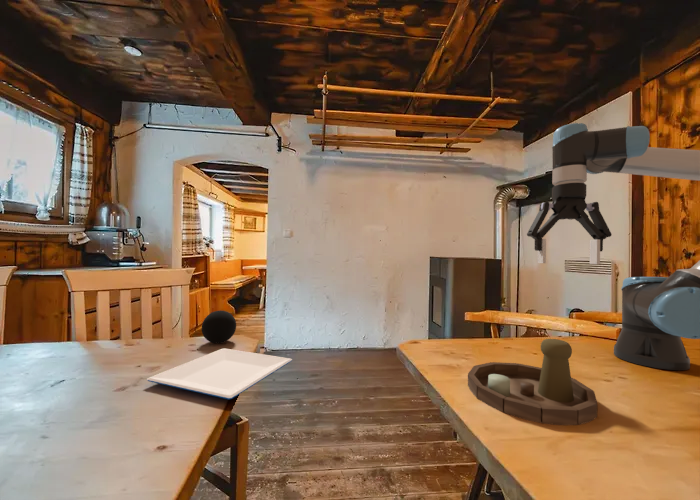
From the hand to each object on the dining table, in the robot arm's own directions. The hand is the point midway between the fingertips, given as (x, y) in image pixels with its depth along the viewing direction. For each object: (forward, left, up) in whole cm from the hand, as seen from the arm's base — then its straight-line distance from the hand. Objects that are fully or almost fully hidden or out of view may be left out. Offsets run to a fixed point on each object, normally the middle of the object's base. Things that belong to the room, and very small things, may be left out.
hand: (567, 263), depth 82 cm
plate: (+86, +17, -27) cm, 92 cm away
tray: (+21, +22, -27) cm, 40 cm away
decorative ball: (+100, -7, -27) cm, 104 cm away
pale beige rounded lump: (+27, +22, -26) cm, 43 cm away
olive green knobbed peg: (+16, +22, -26) cm, 37 cm away
